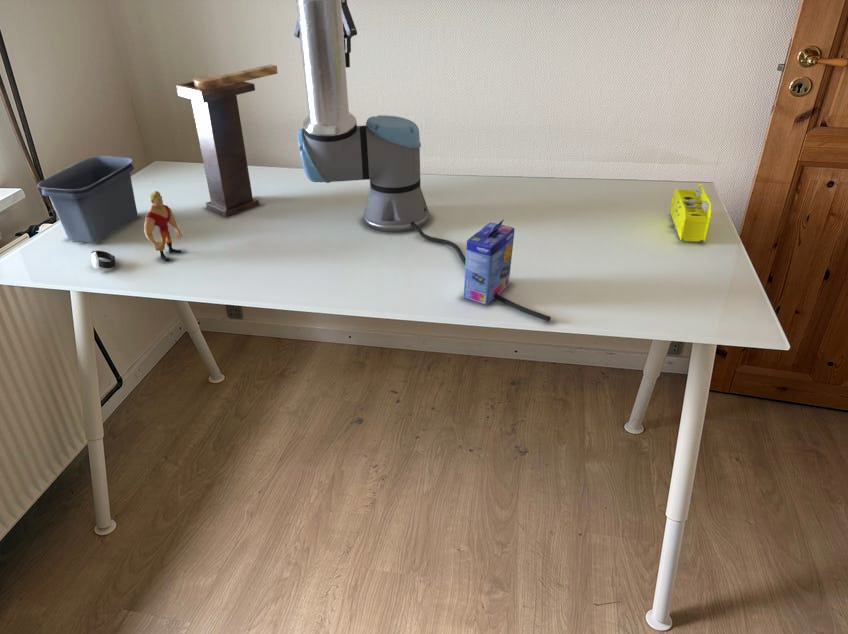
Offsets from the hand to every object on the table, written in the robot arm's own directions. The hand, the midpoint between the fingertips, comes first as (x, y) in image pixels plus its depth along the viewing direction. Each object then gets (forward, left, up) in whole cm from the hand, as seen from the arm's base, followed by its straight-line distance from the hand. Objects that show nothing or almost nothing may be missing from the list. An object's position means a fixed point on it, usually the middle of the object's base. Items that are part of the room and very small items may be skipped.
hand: (326, 67), depth 176 cm
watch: (-17, +69, -28) cm, 77 cm away
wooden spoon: (-3, +26, +1) cm, 26 cm away
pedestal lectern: (-4, +32, -28) cm, 43 cm away
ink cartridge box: (-78, +13, -28) cm, 84 cm away
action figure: (-22, +56, -28) cm, 67 cm away
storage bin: (+4, +64, -28) cm, 70 cm away
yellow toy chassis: (-84, -40, -28) cm, 97 cm away
